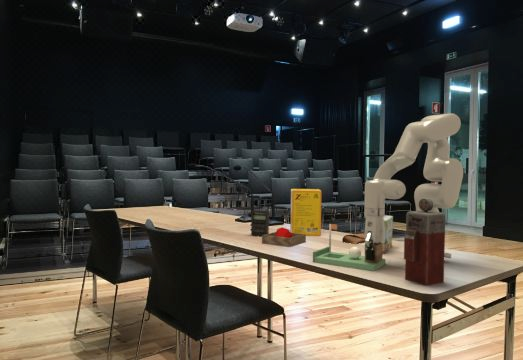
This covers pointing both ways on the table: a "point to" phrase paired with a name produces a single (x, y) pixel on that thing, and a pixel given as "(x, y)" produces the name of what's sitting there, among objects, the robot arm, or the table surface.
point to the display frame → (284, 239)
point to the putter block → (376, 253)
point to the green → (343, 257)
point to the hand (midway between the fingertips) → (373, 258)
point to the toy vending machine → (424, 245)
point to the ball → (355, 252)
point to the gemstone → (283, 233)
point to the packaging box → (306, 211)
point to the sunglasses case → (354, 238)
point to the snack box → (387, 233)
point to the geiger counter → (259, 223)
